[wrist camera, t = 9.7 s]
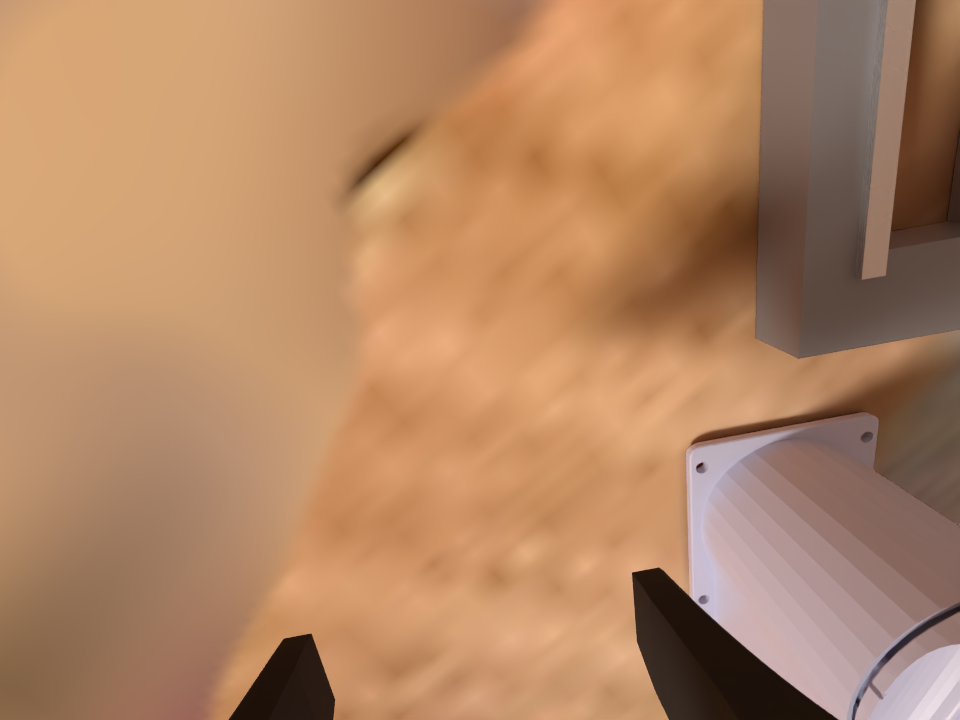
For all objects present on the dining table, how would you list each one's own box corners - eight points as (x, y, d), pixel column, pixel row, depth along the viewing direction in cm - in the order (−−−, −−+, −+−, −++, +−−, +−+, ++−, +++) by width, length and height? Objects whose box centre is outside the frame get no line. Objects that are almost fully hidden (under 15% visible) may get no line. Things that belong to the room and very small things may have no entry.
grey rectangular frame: (1001, 293, 20) (1087, 310, 17) (755, 338, 20) (804, 361, 17) (1086, -157, 15) (1222, -228, 13) (766, -106, 15) (836, -168, 12)
